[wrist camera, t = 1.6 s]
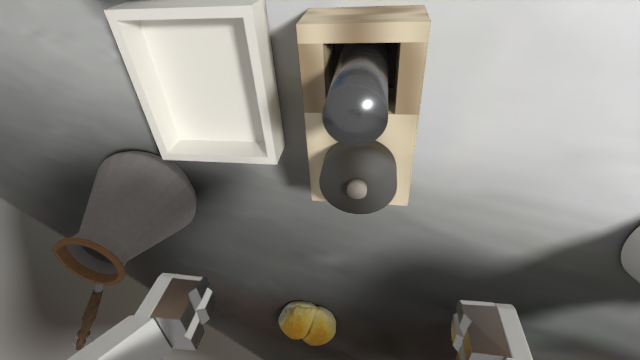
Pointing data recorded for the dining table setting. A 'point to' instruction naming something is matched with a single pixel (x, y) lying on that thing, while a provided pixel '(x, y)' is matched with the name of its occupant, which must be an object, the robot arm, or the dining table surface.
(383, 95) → the pin
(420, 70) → the plate
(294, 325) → the bread roll
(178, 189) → the coffee pot
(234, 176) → the dining table surface
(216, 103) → the tray
